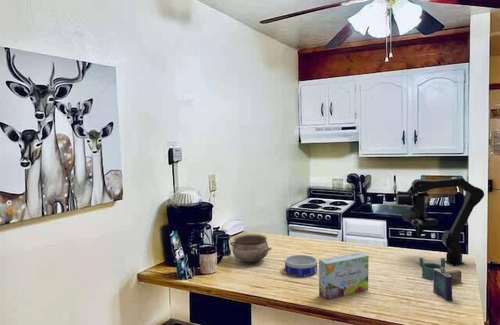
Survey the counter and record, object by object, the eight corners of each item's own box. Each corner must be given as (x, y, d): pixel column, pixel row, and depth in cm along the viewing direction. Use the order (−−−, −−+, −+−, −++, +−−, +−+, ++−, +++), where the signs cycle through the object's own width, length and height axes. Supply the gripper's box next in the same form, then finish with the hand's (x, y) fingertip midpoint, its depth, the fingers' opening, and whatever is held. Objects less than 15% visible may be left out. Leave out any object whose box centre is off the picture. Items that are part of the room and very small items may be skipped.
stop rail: (457, 280, 165) (457, 269, 165) (461, 282, 164) (461, 271, 163) (435, 285, 162) (435, 273, 162) (438, 286, 160) (438, 275, 160)
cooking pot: (220, 263, 199) (219, 240, 198) (241, 253, 215) (240, 231, 214) (262, 271, 186) (261, 246, 185) (280, 259, 201) (279, 236, 201)
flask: (431, 291, 156) (431, 263, 155) (438, 290, 157) (439, 263, 156) (447, 301, 146) (447, 272, 145) (455, 301, 147) (455, 271, 146)
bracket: (446, 277, 170) (446, 258, 169) (434, 282, 165) (434, 262, 165) (429, 271, 177) (429, 253, 177) (416, 275, 173) (416, 256, 172)
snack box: (326, 300, 151) (325, 263, 150) (318, 295, 156) (317, 259, 155) (369, 290, 159) (368, 254, 158) (360, 285, 164) (359, 251, 163)
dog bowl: (293, 264, 194) (292, 252, 194) (321, 269, 186) (321, 256, 186) (279, 274, 181) (279, 262, 181) (310, 279, 173) (309, 266, 173)
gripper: (392, 203, 195) (392, 233, 196) (419, 210, 177) (419, 243, 178) (410, 201, 198) (410, 231, 199) (438, 208, 180) (438, 240, 181)
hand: (418, 236), depth 189 cm, fingers closed
